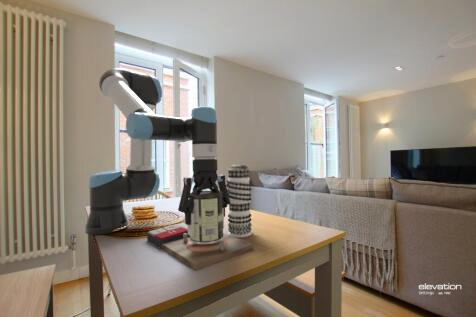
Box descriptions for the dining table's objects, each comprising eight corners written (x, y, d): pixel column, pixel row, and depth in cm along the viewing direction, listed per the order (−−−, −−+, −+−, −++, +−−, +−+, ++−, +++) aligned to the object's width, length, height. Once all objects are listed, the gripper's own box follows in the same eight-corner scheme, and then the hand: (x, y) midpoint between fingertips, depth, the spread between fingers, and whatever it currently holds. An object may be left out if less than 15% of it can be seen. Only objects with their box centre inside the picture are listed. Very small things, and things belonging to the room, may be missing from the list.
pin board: (161, 248, 75) (161, 235, 75) (214, 234, 88) (214, 223, 88) (195, 270, 60) (195, 254, 60) (253, 248, 73) (253, 235, 73)
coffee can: (209, 231, 81) (208, 189, 81) (230, 238, 74) (229, 192, 74) (182, 239, 74) (181, 193, 74) (203, 247, 67) (202, 196, 66)
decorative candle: (222, 233, 89) (220, 165, 89) (241, 228, 94) (240, 164, 94) (237, 239, 82) (236, 165, 82) (257, 233, 87) (256, 164, 87)
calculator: (146, 231, 83) (184, 220, 93) (147, 243, 83) (185, 231, 93) (160, 238, 74) (201, 225, 85) (161, 252, 75) (201, 238, 85)
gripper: (176, 159, 63) (178, 243, 64) (240, 157, 78) (242, 226, 78) (164, 159, 69) (166, 237, 69) (226, 158, 84) (227, 221, 84)
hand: (206, 231), depth 74 cm, fingers closed on coffee can, 10 cm apart
